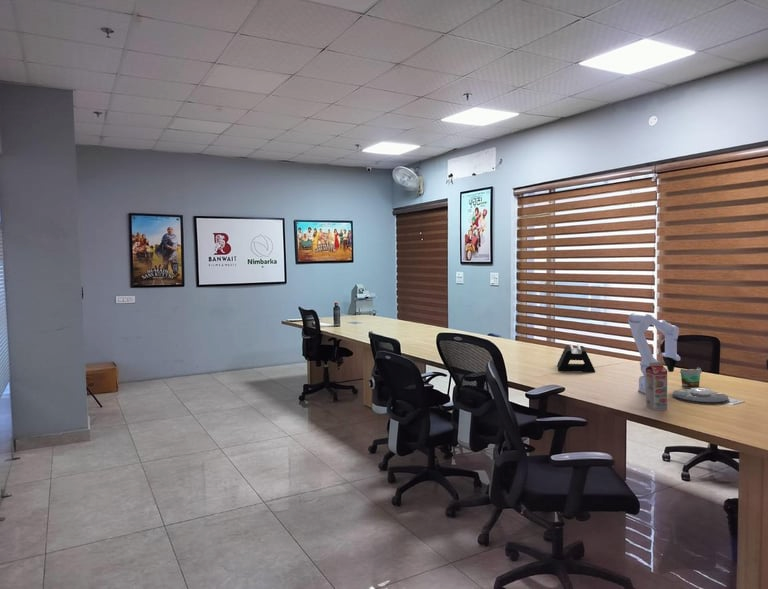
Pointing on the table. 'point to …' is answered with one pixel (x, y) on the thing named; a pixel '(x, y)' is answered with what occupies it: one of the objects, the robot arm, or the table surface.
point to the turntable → (714, 397)
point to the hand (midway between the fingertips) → (670, 371)
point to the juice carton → (656, 386)
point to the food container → (690, 377)
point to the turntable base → (700, 402)
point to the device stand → (575, 354)
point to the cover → (700, 392)
